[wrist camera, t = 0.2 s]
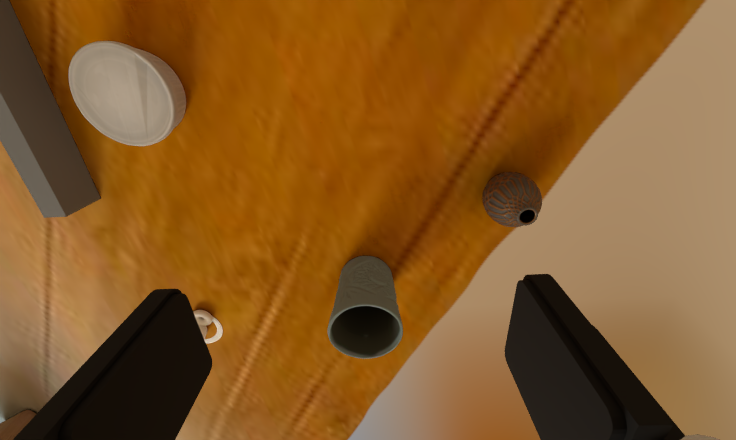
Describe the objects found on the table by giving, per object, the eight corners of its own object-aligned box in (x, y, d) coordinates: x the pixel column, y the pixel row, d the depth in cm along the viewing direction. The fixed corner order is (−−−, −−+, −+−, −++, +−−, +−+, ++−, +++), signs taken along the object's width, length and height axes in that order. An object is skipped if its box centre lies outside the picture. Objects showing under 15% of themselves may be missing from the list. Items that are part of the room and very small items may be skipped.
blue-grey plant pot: (384, 244, 50) (388, 295, 40) (405, 291, 55) (413, 349, 44) (326, 263, 52) (314, 317, 41) (350, 308, 56) (345, 367, 46)
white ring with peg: (200, 300, 57) (188, 317, 53) (235, 326, 59) (226, 343, 56) (171, 323, 59) (157, 340, 56) (206, 347, 62) (195, 365, 58)
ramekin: (212, 118, 42) (192, 126, 37) (144, 149, 44) (116, 160, 39) (158, 25, 37) (126, 21, 33) (83, 64, 39) (44, 66, 35)
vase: (501, 219, 48) (527, 250, 40) (466, 195, 46) (485, 223, 39) (536, 182, 45) (570, 209, 38) (500, 156, 44) (528, 178, 36)
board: (-37, -39, 35) (-112, -56, 29) (-10, -41, 35) (-80, -59, 29) (81, 199, 47) (44, 217, 42) (100, 198, 47) (66, 216, 42)
